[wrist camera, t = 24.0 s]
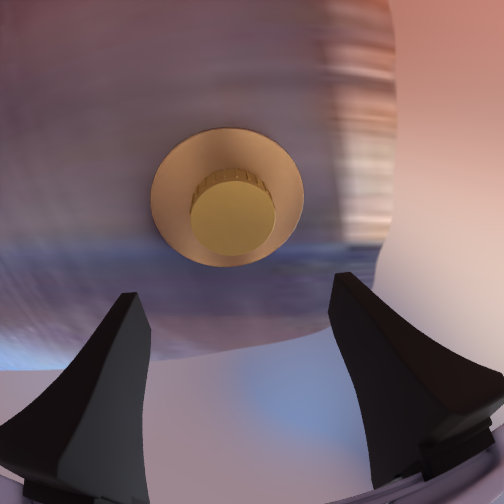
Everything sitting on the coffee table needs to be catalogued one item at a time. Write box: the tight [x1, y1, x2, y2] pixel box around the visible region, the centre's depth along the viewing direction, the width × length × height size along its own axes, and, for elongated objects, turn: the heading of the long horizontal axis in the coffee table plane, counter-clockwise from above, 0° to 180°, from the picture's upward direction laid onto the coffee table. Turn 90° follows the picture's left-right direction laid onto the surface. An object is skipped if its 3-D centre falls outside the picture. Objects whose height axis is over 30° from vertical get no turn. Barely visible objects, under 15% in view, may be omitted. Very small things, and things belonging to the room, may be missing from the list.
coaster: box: [150, 127, 304, 267], centre depth 18 cm, size 9×9×1 cm
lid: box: [189, 168, 276, 256], centre depth 17 cm, size 5×5×2 cm
